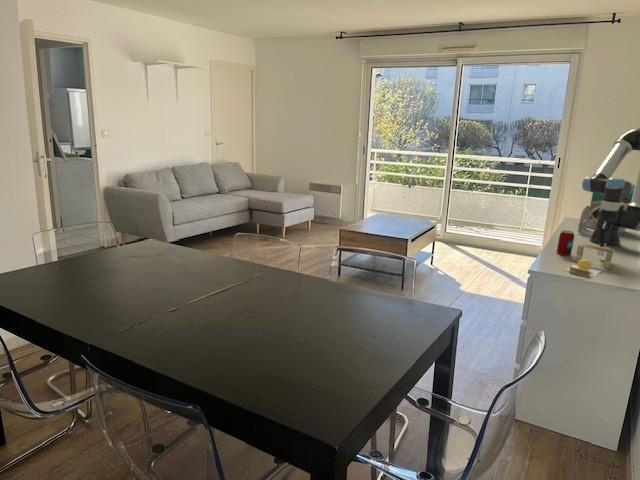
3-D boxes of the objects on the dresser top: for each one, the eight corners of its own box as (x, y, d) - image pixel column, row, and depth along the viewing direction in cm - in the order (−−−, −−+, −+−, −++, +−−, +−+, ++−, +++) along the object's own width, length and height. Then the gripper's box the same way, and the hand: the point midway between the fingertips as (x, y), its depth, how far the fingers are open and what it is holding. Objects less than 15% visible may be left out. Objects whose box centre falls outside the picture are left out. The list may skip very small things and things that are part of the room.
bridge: (576, 260, 240) (580, 242, 238) (609, 267, 231) (613, 249, 229) (574, 261, 238) (578, 243, 236) (607, 269, 229) (611, 250, 226)
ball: (575, 271, 225) (579, 264, 228) (588, 274, 222) (592, 267, 225) (575, 262, 222) (580, 255, 226) (589, 265, 219) (593, 258, 222)
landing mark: (573, 265, 232) (573, 264, 232) (601, 271, 225) (601, 271, 225) (565, 270, 224) (565, 269, 224) (594, 277, 216) (594, 276, 216)
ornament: (586, 229, 313) (591, 203, 308) (609, 233, 304) (614, 207, 300) (575, 234, 297) (581, 207, 293) (599, 238, 289) (605, 211, 284)
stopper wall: (569, 271, 222) (570, 266, 221) (589, 276, 217) (590, 270, 216) (568, 272, 221) (569, 267, 220) (588, 277, 216) (589, 271, 215)
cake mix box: (586, 227, 318) (594, 181, 310) (586, 225, 323) (595, 180, 315) (624, 232, 307) (634, 185, 299) (624, 230, 312) (634, 184, 304)
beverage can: (570, 256, 246) (574, 234, 243) (555, 254, 250) (559, 231, 246) (571, 254, 252) (575, 231, 249) (557, 251, 255) (561, 229, 252)
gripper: (604, 206, 245) (595, 251, 252) (598, 209, 236) (588, 256, 242) (621, 209, 241) (611, 254, 247) (615, 212, 231) (605, 259, 237)
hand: (600, 255), depth 245 cm, fingers closed
